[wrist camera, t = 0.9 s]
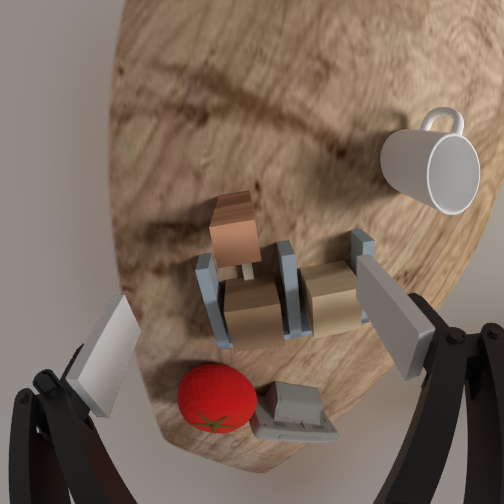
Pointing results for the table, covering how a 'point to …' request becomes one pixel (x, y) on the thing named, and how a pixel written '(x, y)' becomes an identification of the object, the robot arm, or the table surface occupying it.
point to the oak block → (330, 298)
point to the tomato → (216, 398)
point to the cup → (433, 164)
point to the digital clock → (292, 415)
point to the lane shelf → (294, 320)
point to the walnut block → (245, 276)
